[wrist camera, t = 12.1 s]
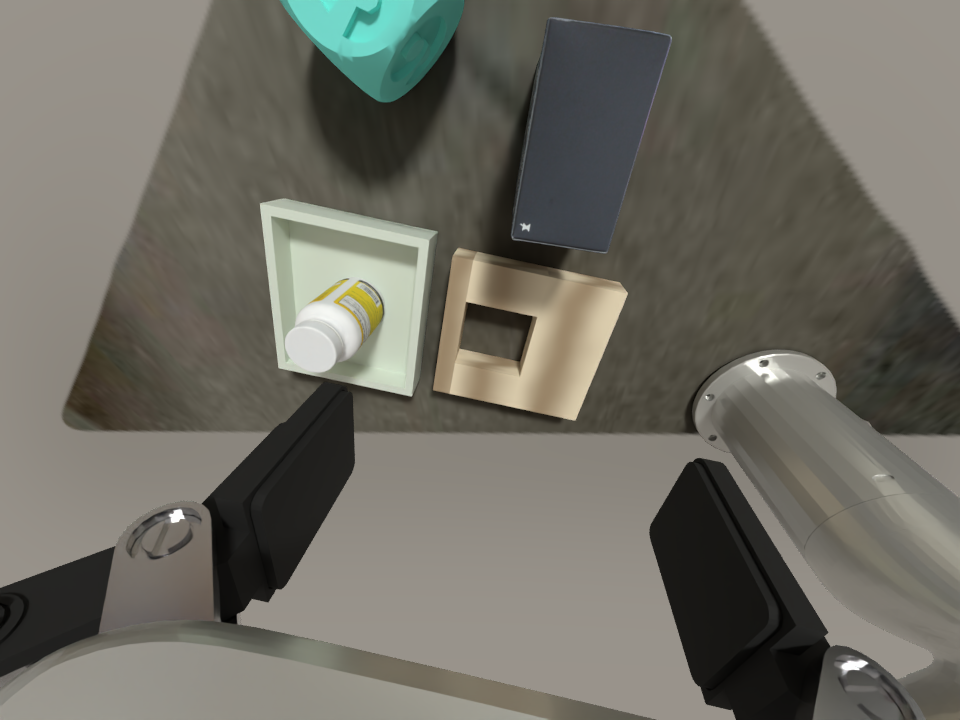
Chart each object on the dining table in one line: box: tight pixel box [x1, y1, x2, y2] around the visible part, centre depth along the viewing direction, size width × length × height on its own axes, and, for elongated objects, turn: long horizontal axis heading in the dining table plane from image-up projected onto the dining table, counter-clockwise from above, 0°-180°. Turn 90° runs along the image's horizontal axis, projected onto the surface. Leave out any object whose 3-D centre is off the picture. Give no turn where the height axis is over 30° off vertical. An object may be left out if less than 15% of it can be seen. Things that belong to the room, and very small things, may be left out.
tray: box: [260, 198, 438, 397], centre depth 35 cm, size 14×16×4 cm
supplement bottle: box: [285, 277, 385, 373], centre depth 32 cm, size 5×5×10 cm
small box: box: [511, 17, 672, 253], centre depth 24 cm, size 11×6×10 cm, turn 172°
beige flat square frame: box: [433, 248, 628, 420], centre depth 35 cm, size 15×14×3 cm
